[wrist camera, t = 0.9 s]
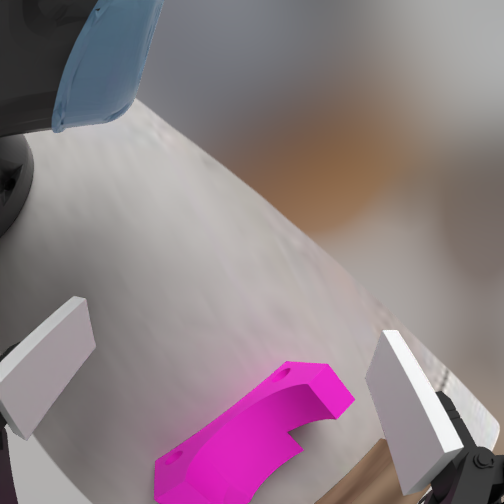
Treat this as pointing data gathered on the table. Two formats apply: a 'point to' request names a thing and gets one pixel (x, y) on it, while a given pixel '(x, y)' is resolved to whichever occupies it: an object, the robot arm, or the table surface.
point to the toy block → (250, 438)
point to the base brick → (372, 482)
